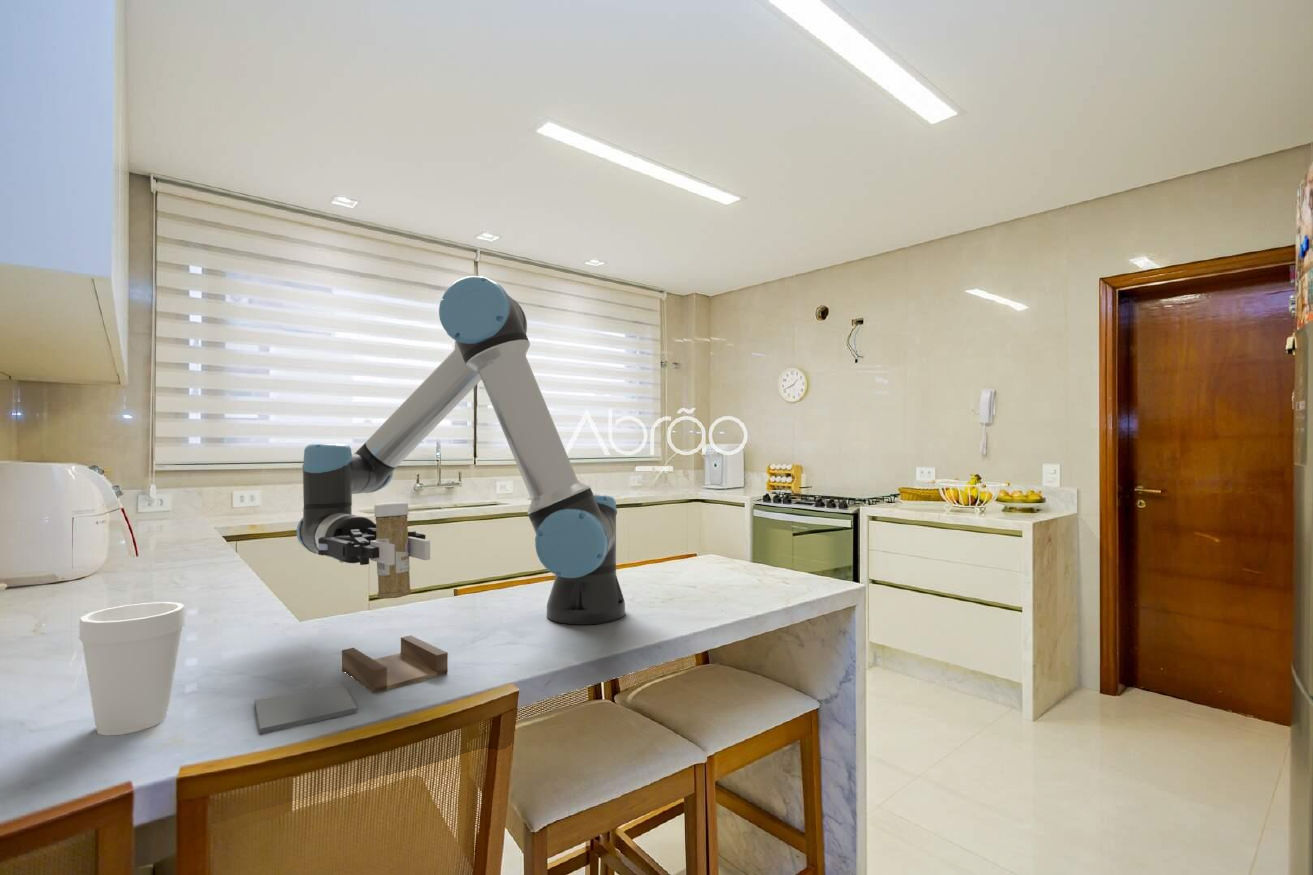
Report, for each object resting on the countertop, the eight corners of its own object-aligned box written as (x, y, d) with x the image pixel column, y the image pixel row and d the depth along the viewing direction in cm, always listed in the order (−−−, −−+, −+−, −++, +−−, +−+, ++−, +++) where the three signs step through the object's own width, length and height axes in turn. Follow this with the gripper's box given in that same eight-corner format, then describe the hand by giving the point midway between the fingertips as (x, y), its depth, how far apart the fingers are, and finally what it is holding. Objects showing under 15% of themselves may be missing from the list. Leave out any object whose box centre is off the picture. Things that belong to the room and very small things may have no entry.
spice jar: (413, 595, 90) (410, 501, 91) (379, 600, 87) (376, 503, 88) (408, 591, 94) (405, 501, 94) (374, 596, 91) (372, 503, 92)
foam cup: (70, 749, 67) (73, 627, 67) (83, 719, 74) (85, 609, 75) (182, 726, 73) (184, 613, 73) (184, 700, 80) (185, 598, 80)
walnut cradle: (410, 654, 98) (411, 635, 98) (447, 673, 90) (447, 652, 90) (341, 670, 91) (341, 650, 91) (374, 693, 82) (374, 670, 82)
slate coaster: (342, 687, 85) (342, 682, 85) (356, 712, 76) (356, 707, 76) (254, 704, 79) (255, 699, 79) (260, 733, 71) (260, 728, 71)
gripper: (400, 553, 109) (467, 570, 93) (289, 568, 97) (343, 590, 81) (400, 510, 110) (467, 519, 93) (289, 519, 97) (343, 531, 81)
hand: (409, 552), depth 87 cm, fingers closed on spice jar, 4 cm apart
